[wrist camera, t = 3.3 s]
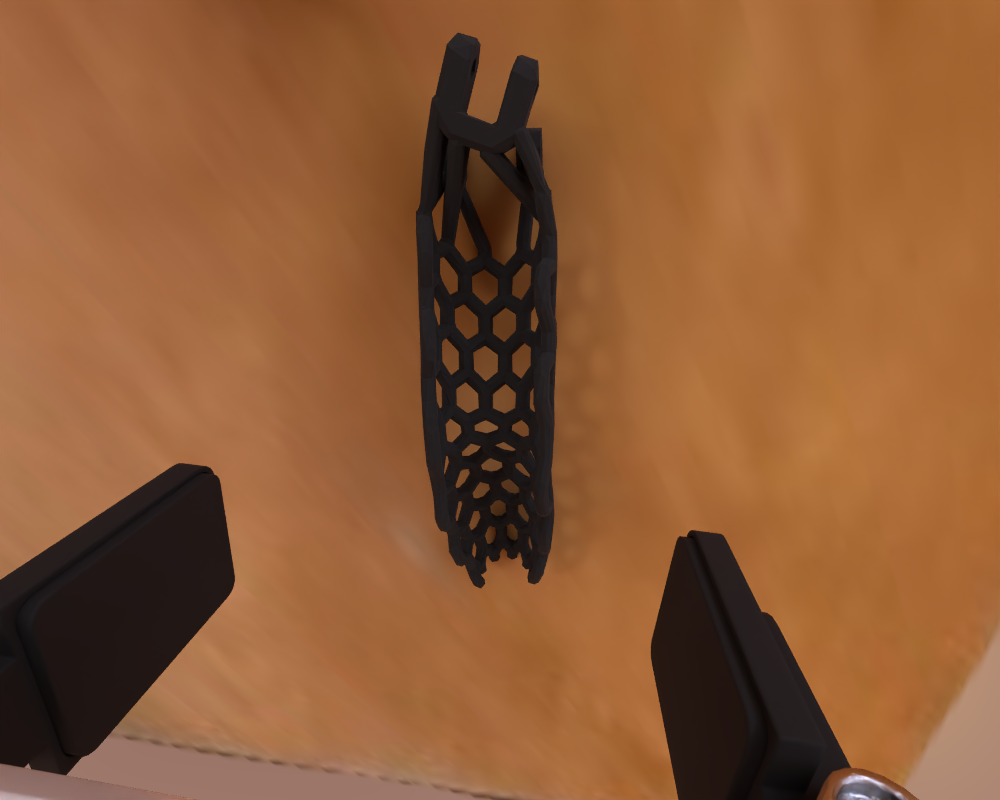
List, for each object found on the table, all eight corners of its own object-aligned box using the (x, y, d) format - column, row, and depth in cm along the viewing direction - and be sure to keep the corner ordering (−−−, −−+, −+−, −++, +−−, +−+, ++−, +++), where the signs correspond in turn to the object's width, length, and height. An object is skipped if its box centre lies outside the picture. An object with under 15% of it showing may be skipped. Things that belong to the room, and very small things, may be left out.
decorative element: (557, 560, 26) (558, 653, 21) (463, 557, 27) (440, 647, 21) (554, 60, 18) (555, -3, 13) (419, 71, 19) (364, 15, 13)
